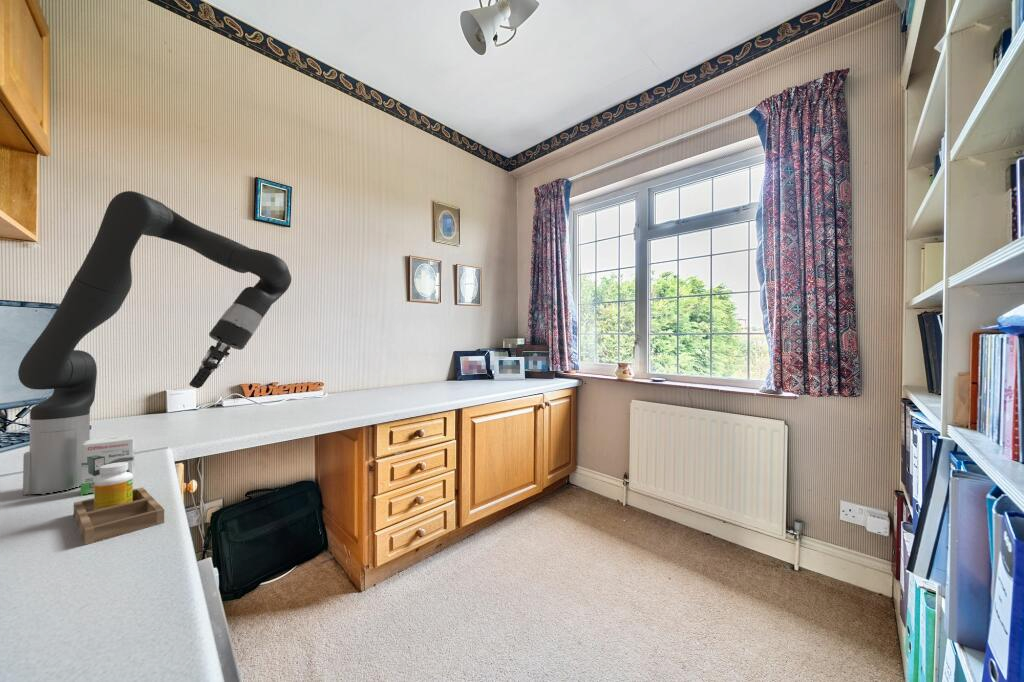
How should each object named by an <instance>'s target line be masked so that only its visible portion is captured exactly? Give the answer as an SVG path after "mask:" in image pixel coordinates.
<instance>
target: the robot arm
mask: <svg viewBox="0 0 1024 682" xmlns="http://www.w3.org/2000/svg"><path fill="white" fill-rule="evenodd" d="M142 236H147V237H155V238H158V239H163V240H167V241H169V242H171V243H172V242H174V243H176V244H179V245H182V246H184V247H186V248H188V249H190V250H192V251H195V252H196V253H197V254H199V255H201V256H203V257H205V258H206V259H208V260H210V261H212V262H213V263H215V264H218V265H221V266H223V267H225V268H227V269H229V270H232V271H234V272H237V273H239V274H240V273H241V274H247V273H249V274H253V275H255V276H257V277H258V278H259V280H258V281H257V283H255V285H254V286H247V287H245V288H244V289H242V291H241V292H240V293H239V294H238V296H237V297H236V299H235V300H234V301H233V302H232V304H231V305H230V306H229V307H228V308H227V309H226V310H225V311H224V313H223V314H222V316H221V317H220V318H219V320H218V321H217V322H216V323H215V325H214V326H213V327H212V328H211V330H210V332H209V333H208V335H209V337H210V338H211V339H212V340H215V341H216V344H215V345H211V346H210V347H209V348H208V349H207V351H206V354H205V356H204V357H203V358H202V360H201V362H200V363H201V365H200V366H199V367H198V371H197V372H196V373H195V375H194V377H193V378H192V379H191V381H190V382H189V385H188V386H190V387H193V388H195V389H200V388H201V387H203V385H204V384H205V383H206V381H207V380H208V378H210V376H211V375H212V373H213V372H215V371H216V370H217V369H218V368H220V367H221V365H222V364H223V363H224V361H226V360H227V358H228V357H229V355H230V354H231V353H230V352H229V351H230V350H231V348H232V349H235V350H238V351H240V350H241V351H242V350H243V349H245V347H246V346H247V344H248V342H250V339H251V338H252V336H253V335H254V333H255V332H256V331H257V330H258V328H259V326H260V324H261V323H262V320H263V318H264V317H265V315H266V314H267V312H268V311H269V310H270V308H271V306H272V305H273V304H274V303H276V302H277V301H278V300H279V299H280V298H281V297H282V296H283V295H284V294H285V293H286V291H287V290H288V289H289V288H290V285H291V283H292V275H291V273H290V270H289V267H288V265H287V263H286V262H285V261H284V260H283V259H282V258H280V257H279V256H277V255H275V254H273V253H270V252H267V251H263V250H259V249H255V248H254V249H253V248H251V247H248V246H247V245H245V244H242V243H240V242H238V241H235V240H233V239H231V238H228V237H226V236H224V235H221V234H219V233H216V232H213V231H211V230H209V229H207V228H203V227H202V226H200V225H197V224H196V223H194V222H192V221H190V220H188V219H186V218H185V217H183V216H182V215H180V214H179V213H178V212H175V211H174V210H173V209H171V208H169V206H166V204H164V203H163V202H161V201H159V200H157V199H154V198H152V197H149V196H147V195H146V194H142V193H141V192H136V191H132V190H130V191H129V190H127V191H122V192H120V193H117V194H116V195H115V196H114V197H113V198H112V199H111V200H110V202H109V203H108V205H107V207H106V210H105V213H104V216H103V217H102V220H101V224H100V226H99V228H98V231H97V235H96V236H95V239H94V241H93V243H92V245H91V246H90V248H89V251H88V252H87V254H86V257H85V259H84V260H83V262H82V264H81V266H80V267H79V269H78V271H77V272H76V274H75V275H74V277H73V279H72V281H71V282H70V285H69V286H68V288H67V291H66V292H65V295H63V298H62V300H61V302H60V304H59V306H58V307H57V309H56V310H55V312H54V314H53V315H52V317H51V318H50V320H49V322H48V323H47V324H46V326H45V328H44V329H43V331H42V332H41V333H40V335H39V336H38V337H37V339H36V340H35V341H34V343H32V345H31V347H30V348H29V350H28V351H27V352H26V353H25V355H24V356H23V358H22V360H21V362H20V364H19V367H18V371H17V372H18V373H17V374H18V380H19V382H20V383H21V384H22V385H23V386H24V387H25V388H28V389H31V390H36V391H37V390H42V391H43V390H53V393H52V394H51V396H50V397H48V398H47V399H46V400H44V401H42V402H39V403H38V404H35V405H34V406H32V407H31V409H30V411H29V451H26V452H24V453H23V459H22V460H23V464H22V465H23V467H22V468H23V470H22V471H23V473H22V475H23V476H22V495H23V494H27V495H31V494H42V495H47V494H46V493H50V494H54V493H53V492H57V491H62V492H64V491H63V490H67V489H71V488H75V487H78V486H81V464H82V444H83V443H84V442H85V441H87V440H91V439H90V437H91V436H90V429H91V428H90V427H91V423H90V422H91V414H90V413H91V407H92V405H93V404H94V401H95V397H96V389H97V388H96V387H97V378H98V377H97V376H98V369H97V362H96V360H95V358H94V357H93V356H92V354H90V353H89V352H88V351H85V350H79V349H76V348H77V345H78V344H79V343H80V342H81V340H82V339H84V337H85V336H86V335H88V334H89V333H91V332H92V331H93V330H95V329H96V328H98V327H99V326H101V325H102V324H104V323H105V322H107V321H108V320H109V319H110V318H112V317H113V316H114V315H116V313H117V312H118V311H119V310H120V309H121V307H122V305H123V303H124V302H125V300H126V299H127V296H128V294H129V292H130V290H131V288H132V284H133V280H132V279H133V277H132V263H131V262H132V261H131V260H132V255H133V251H134V249H135V247H136V245H138V244H137V243H138V242H139V241H140V239H141V237H142ZM78 488H79V487H78ZM75 489H76V488H75ZM71 490H72V489H71ZM67 491H68V490H67ZM57 493H58V492H57Z"/></svg>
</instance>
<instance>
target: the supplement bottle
mask: <svg viewBox="0 0 1024 682" xmlns="http://www.w3.org/2000/svg"><path fill="white" fill-rule="evenodd" d="M127 470H128V463H127V462H118V463H111V464H107V465H103V466H101V467H100V471H99V473H100V475H101V477H99V478H97V479H96V480H95V483H94V493H93V498H94V510H98V509H102V508H107V507H111V506H115V505H119V504H123V503H128V502H132V501H133V489H134V486H133V485H134V480H133V475H132V474H131V473H129V472H127Z"/></svg>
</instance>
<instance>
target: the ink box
mask: <svg viewBox="0 0 1024 682" xmlns="http://www.w3.org/2000/svg"><path fill="white" fill-rule="evenodd" d="M135 438H136V437H135V436H134V435H126V436H125V435H124V436H113V437H104V438H103V437H102V438H94V439H93V438H92V439H90V440H87V441H85V442H84V443H83V444H82V464H81V487H80V491H79V492H80V496H84V495H83V494H88V493H93V494H94V483H95V480H96V479H97V478H99V477H101V475H100V473H99V471H100V467H101V466H103V465H107V464H111V463H118V462H127V463H128V470H127V472H129V473H131V474H132V475H133V481H135V480H134V476H135V475H134V474H135V440H136V439H135ZM88 495H89V494H88Z"/></svg>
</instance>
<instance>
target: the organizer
mask: <svg viewBox="0 0 1024 682" xmlns="http://www.w3.org/2000/svg"><path fill="white" fill-rule="evenodd" d="M73 517H74V520H75V523H76V525H77V529H78V530H79V533H80V535H81V537H82V540H83V543H84V545H85V546H86V545H90V544H93V542H94V543H97V542H101V541H104V540H103V539H105V540H107V539H111V538H115V537H118V536H122V535H125V534H130V533H133V532H135V531H139V530H143V529H147V528H150V527H153V526H158V525H161V524H164V523H165V509H164V507H163V506H162V505H161V504H160V503H158V501H156V499H155V498H154V497H153V496H152V495H151V494H150V493H149V492H148V491H147V490H146V488H144V487H143V486H142V487H138V488H133V501H132V502H128V503H123V504H119V505H115V506H111V507H107V508H102V509H98V510H94V497H93V498H90V499H89V498H88V499H84V500H79V501H74V502H73ZM100 540H101V541H100ZM96 541H97V542H96Z"/></svg>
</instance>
